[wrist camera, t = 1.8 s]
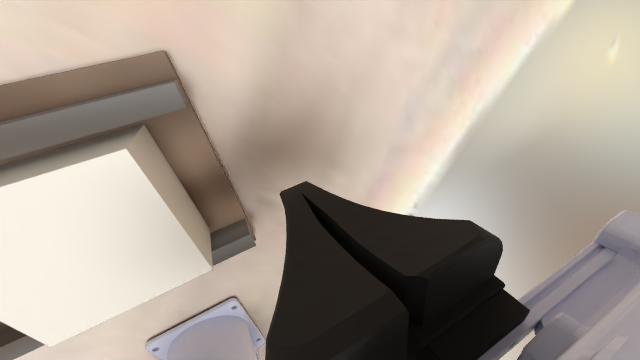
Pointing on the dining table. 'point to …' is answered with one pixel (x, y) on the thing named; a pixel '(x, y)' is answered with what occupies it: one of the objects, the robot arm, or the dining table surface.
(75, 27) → the dining table surface
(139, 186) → the white flat square block
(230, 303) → the robot arm
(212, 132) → the dining table surface
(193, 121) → the bay
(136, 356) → the dining table surface
